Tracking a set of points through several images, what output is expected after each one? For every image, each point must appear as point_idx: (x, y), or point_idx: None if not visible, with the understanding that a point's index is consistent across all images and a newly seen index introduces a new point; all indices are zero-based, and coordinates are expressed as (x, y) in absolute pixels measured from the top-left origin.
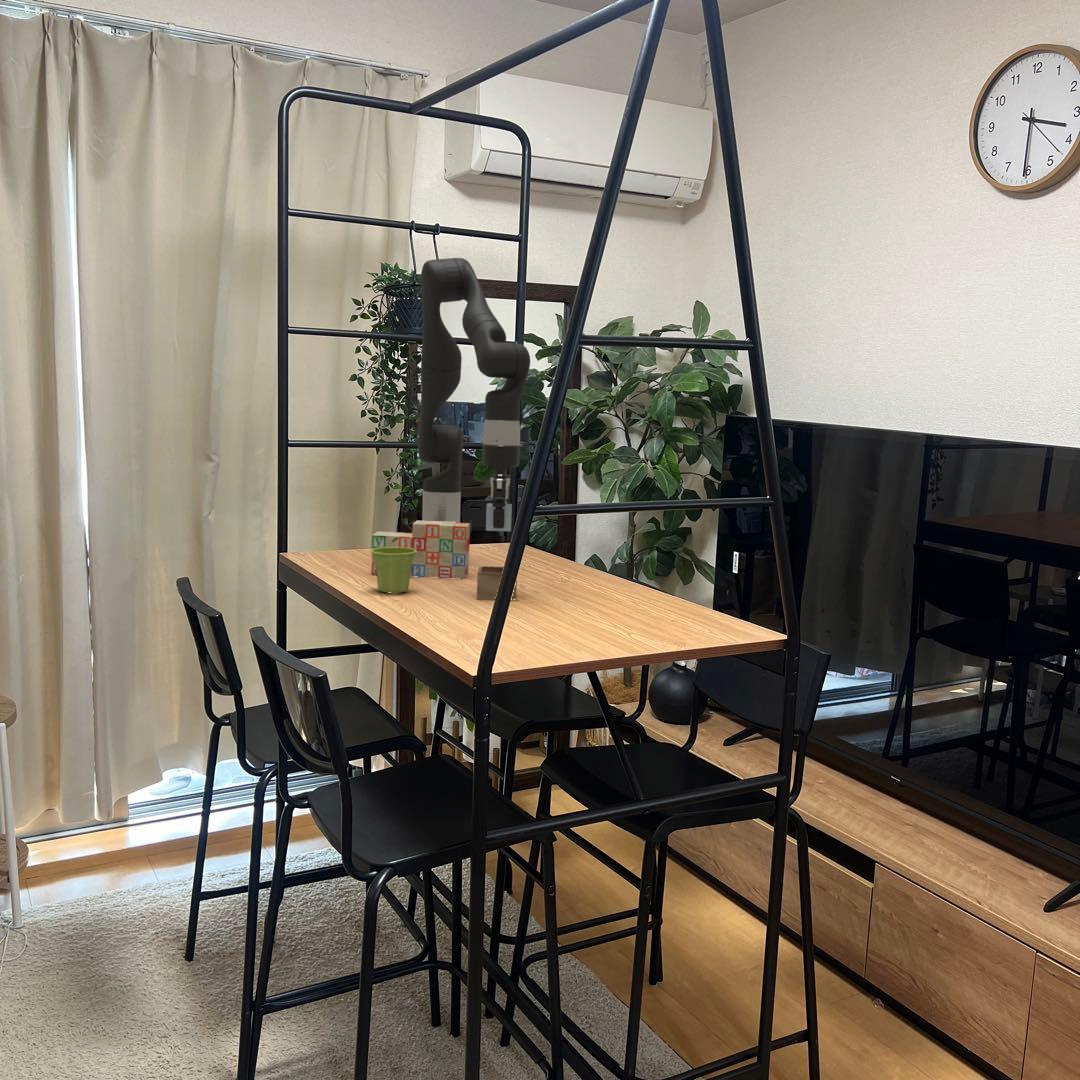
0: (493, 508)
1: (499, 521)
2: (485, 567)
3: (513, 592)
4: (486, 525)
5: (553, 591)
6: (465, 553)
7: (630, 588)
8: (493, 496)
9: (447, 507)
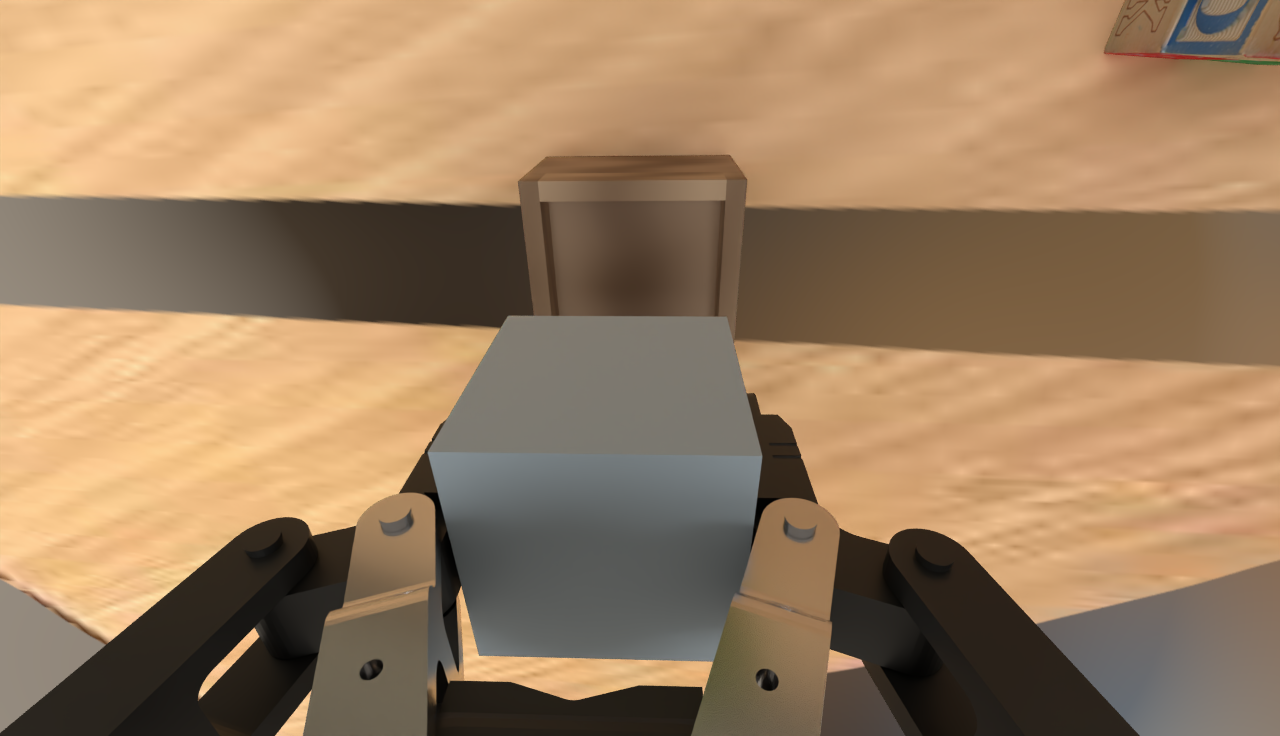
0: (380, 505)
1: None
2: (723, 218)
3: None
4: (497, 339)
5: None
6: (1244, 52)
7: None
8: (109, 648)
9: None
